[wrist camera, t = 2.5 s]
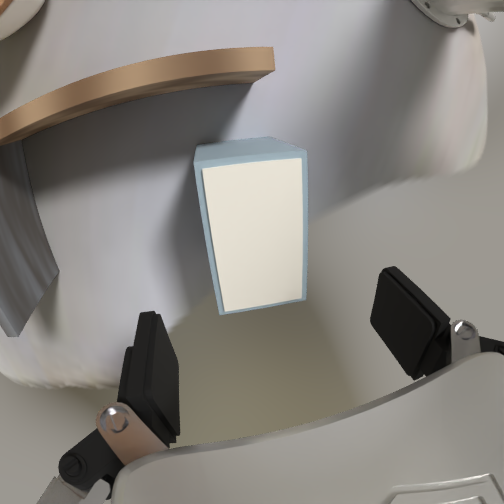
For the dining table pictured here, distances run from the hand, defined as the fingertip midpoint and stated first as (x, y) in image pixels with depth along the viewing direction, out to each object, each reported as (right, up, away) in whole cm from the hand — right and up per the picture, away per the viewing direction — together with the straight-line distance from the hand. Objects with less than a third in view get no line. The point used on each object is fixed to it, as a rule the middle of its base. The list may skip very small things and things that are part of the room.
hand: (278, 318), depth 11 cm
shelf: (-14, +9, +10) cm, 19 cm away
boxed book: (-2, +7, +13) cm, 15 cm away
